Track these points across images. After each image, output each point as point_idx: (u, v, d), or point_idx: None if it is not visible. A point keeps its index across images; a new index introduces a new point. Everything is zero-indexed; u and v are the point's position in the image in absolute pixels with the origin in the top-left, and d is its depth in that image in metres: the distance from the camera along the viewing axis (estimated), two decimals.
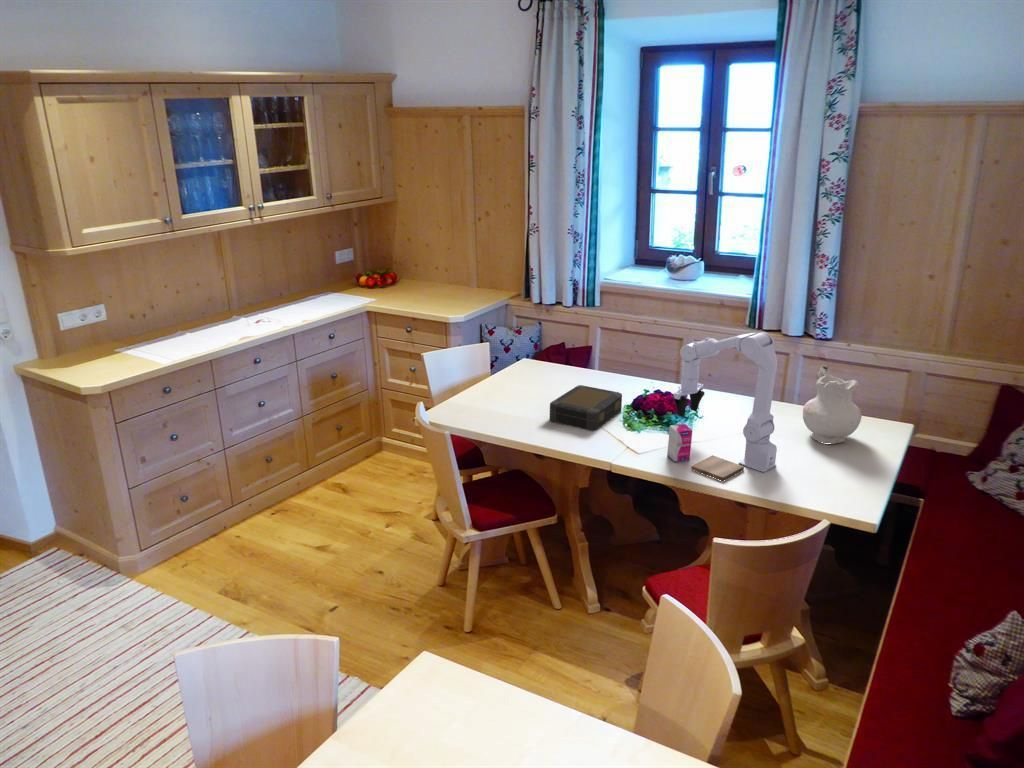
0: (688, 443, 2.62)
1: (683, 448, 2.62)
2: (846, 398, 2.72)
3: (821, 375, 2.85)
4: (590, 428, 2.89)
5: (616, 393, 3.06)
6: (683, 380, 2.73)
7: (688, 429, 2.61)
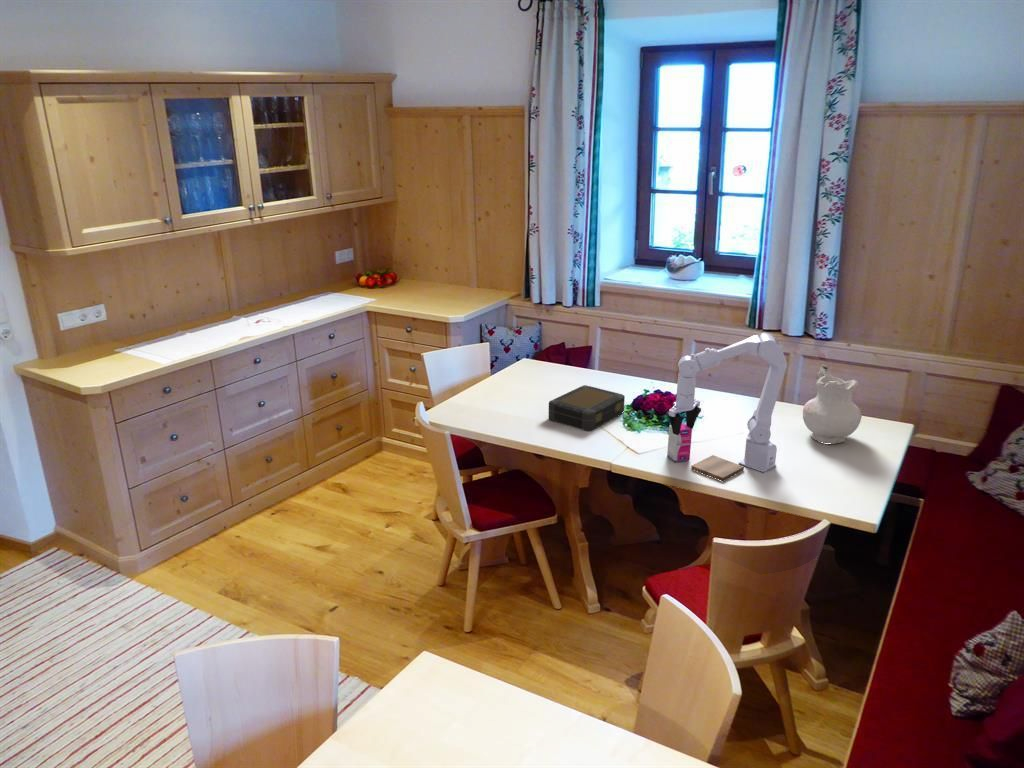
0: (688, 442, 2.62)
1: (683, 448, 2.62)
2: (846, 398, 2.72)
3: (821, 375, 2.85)
4: (586, 428, 2.89)
5: (618, 394, 3.04)
6: (678, 396, 2.57)
7: (688, 428, 2.61)
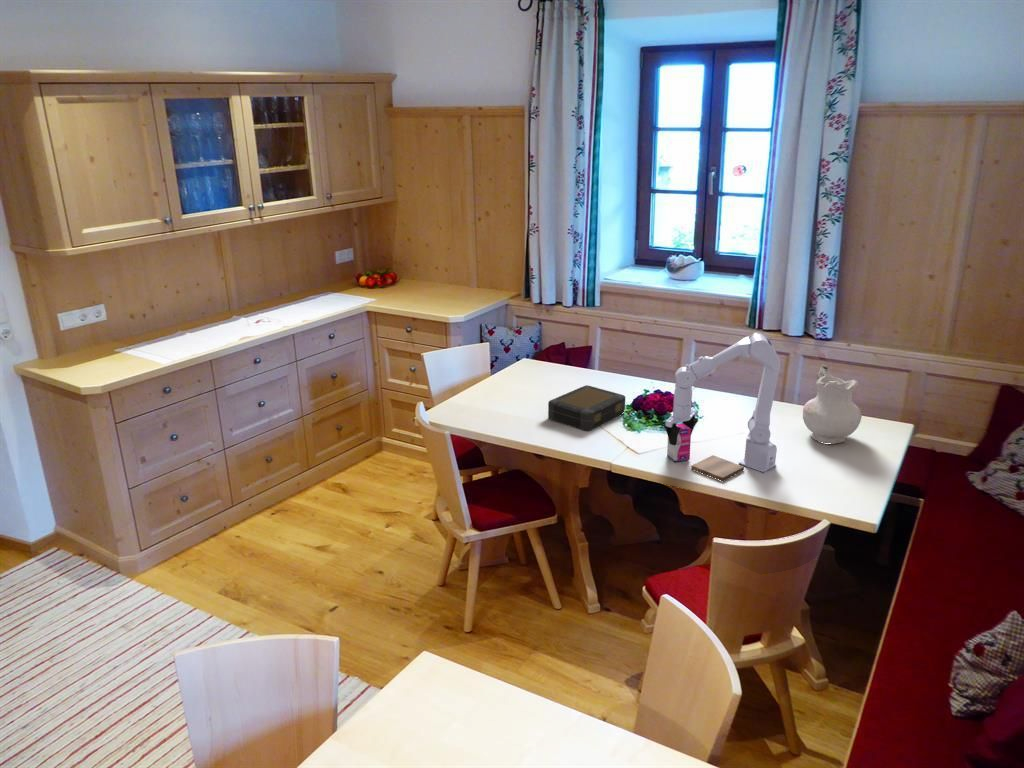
0: (687, 442, 2.62)
1: (682, 447, 2.62)
2: (846, 398, 2.72)
3: (821, 375, 2.85)
4: (584, 428, 2.89)
5: (619, 395, 3.03)
6: (675, 407, 2.59)
7: (687, 428, 2.62)
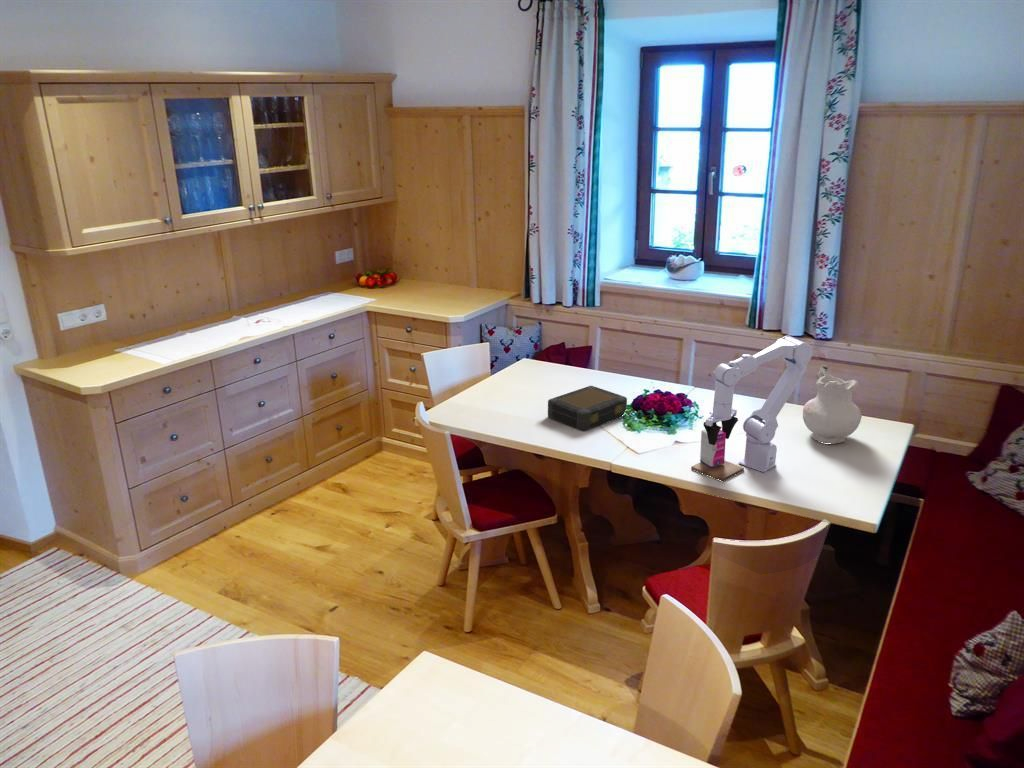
0: (722, 446, 2.56)
1: (718, 452, 2.56)
2: (846, 398, 2.72)
3: (821, 375, 2.85)
4: (580, 428, 2.89)
5: (621, 396, 3.02)
6: (715, 405, 2.49)
7: (721, 432, 2.55)
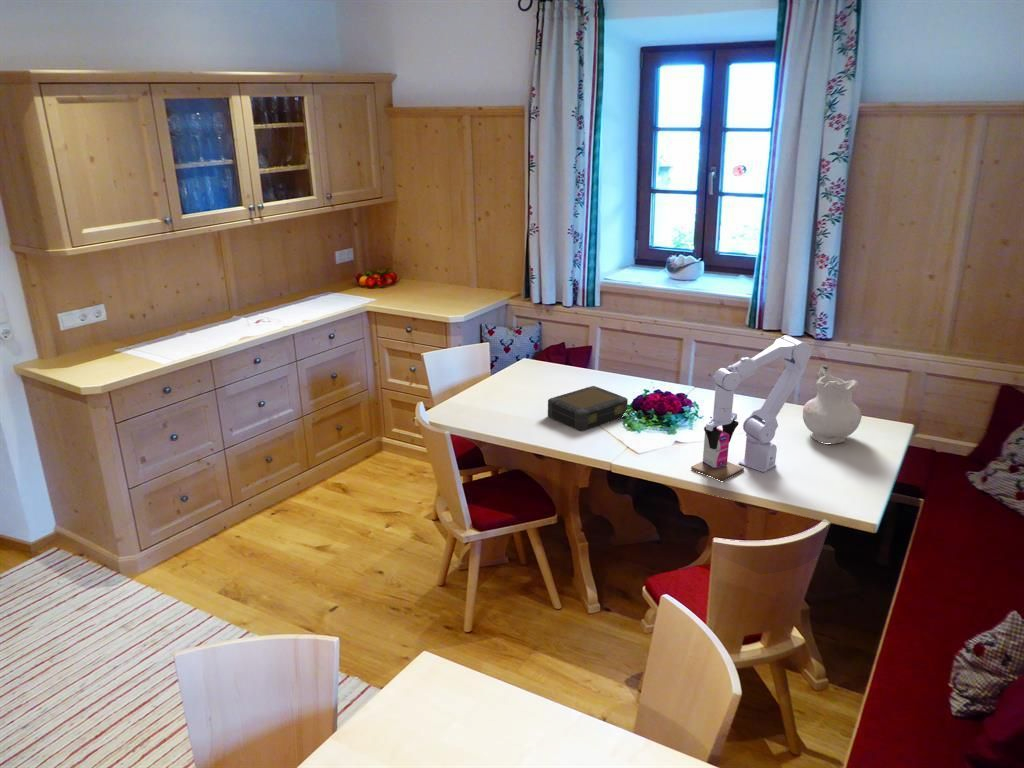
0: (726, 447, 2.55)
1: (721, 454, 2.55)
2: (846, 398, 2.72)
3: (821, 375, 2.85)
4: (577, 428, 2.89)
5: (621, 397, 3.01)
6: (716, 410, 2.49)
7: (725, 433, 2.54)
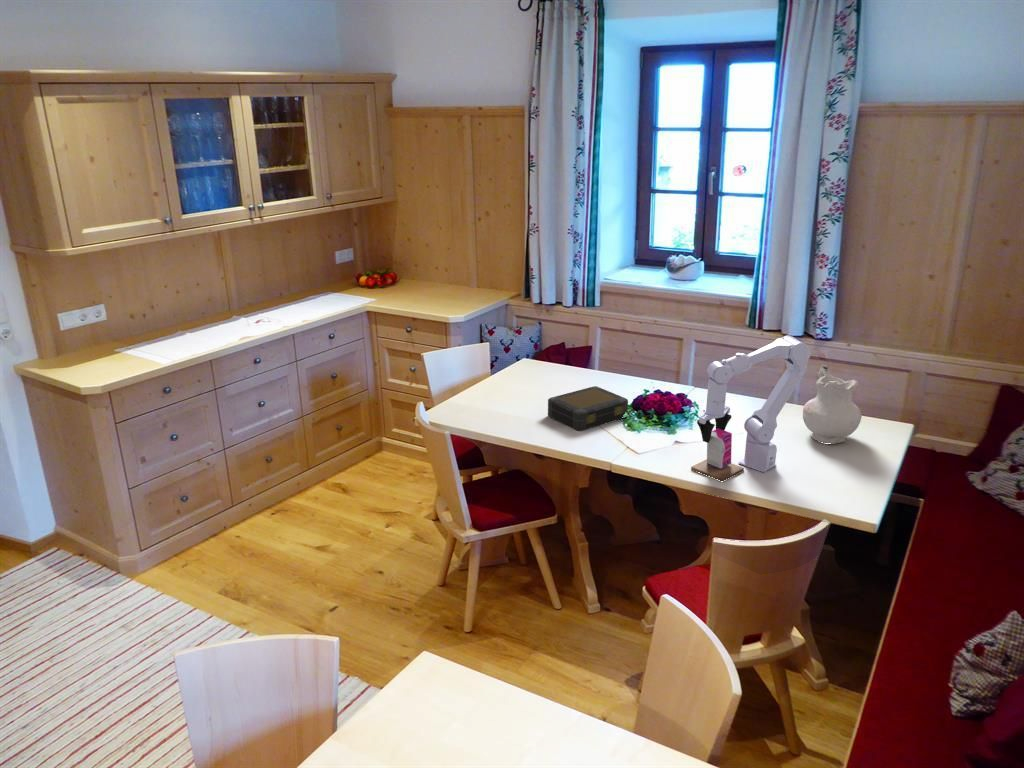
0: (729, 447, 2.55)
1: (726, 453, 2.55)
2: (846, 398, 2.72)
3: (821, 375, 2.85)
4: (576, 428, 2.89)
5: (622, 398, 3.00)
6: (709, 403, 2.51)
7: (727, 433, 2.54)
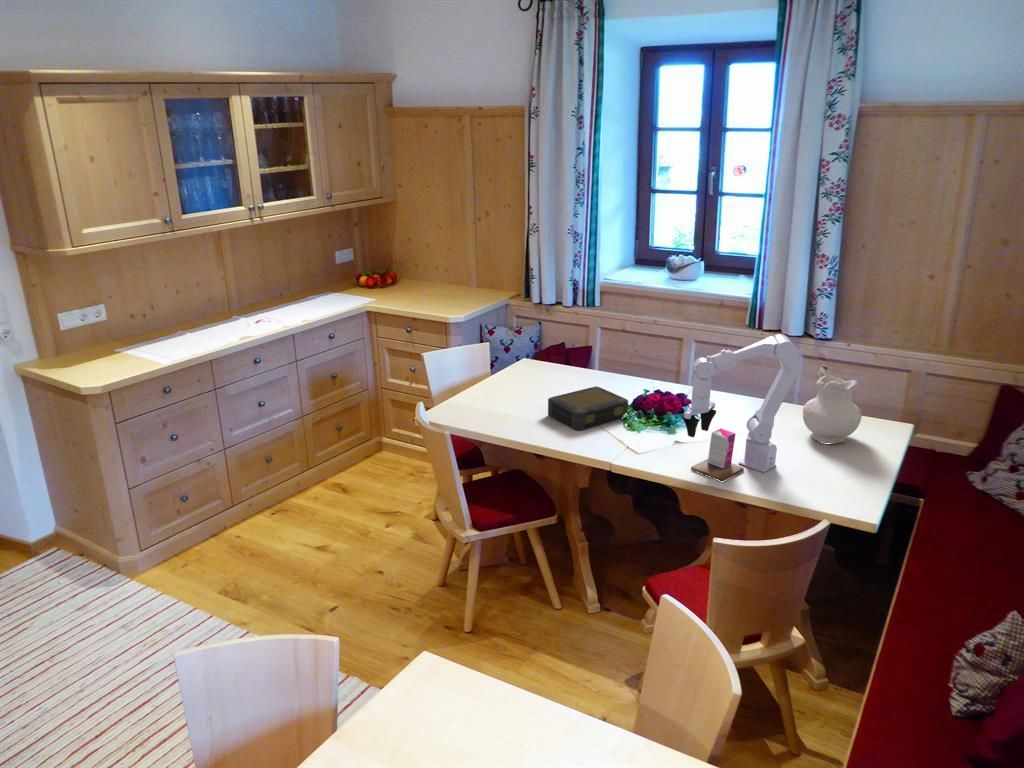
0: (732, 447, 2.56)
1: (728, 453, 2.55)
2: (846, 398, 2.72)
3: (821, 375, 2.85)
4: (574, 428, 2.89)
5: (622, 398, 2.99)
6: (694, 398, 2.55)
7: (731, 433, 2.55)
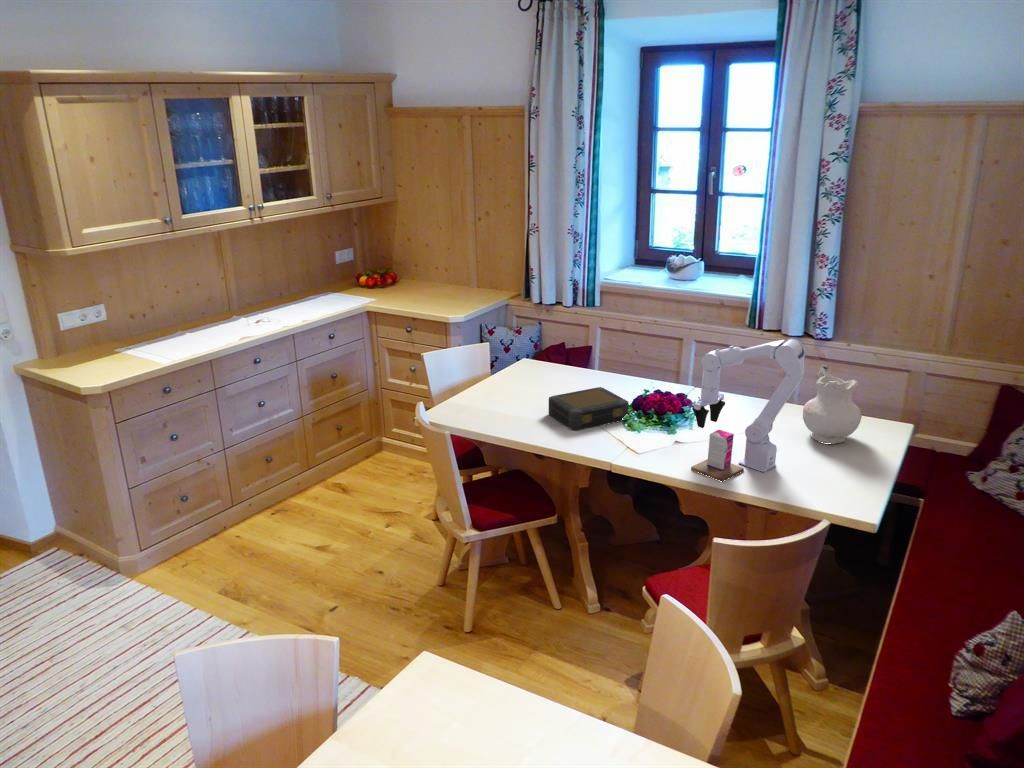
0: (731, 448, 2.55)
1: (727, 454, 2.55)
2: (846, 398, 2.72)
3: (821, 375, 2.85)
4: (571, 427, 2.90)
5: (622, 400, 2.98)
6: (703, 390, 2.62)
7: (729, 433, 2.54)
